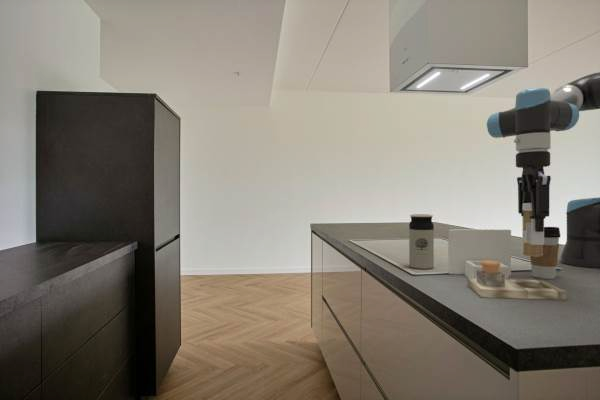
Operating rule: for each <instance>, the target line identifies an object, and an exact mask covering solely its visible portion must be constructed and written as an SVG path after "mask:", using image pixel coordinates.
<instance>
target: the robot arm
mask: <svg viewBox="0 0 600 400" xmlns="http://www.w3.org/2000/svg"><path fill="white" fill-rule="evenodd" d="M515 96H516V97H515V105H514V106H515V107H514V108H511V109H508V110H504V111H499V112H495V113H492V114H490V115H489V117H488V119H487V120H486V128H487V132H488V134H489V136H491V137H492V138H494V139H495V138H496V139H497V138H498V139H499V138H508V137H515V139H513V143H515V151H516V154H515V167H516V168H520V169H521V168H522V171H521V173H522V174H521V176H519V177H517V178H516V183H517V196H518V197H517V199H518V200H517V202H518V205H517V206H518V207H517V208H518V209H517V210H518V214H520V215H521V217H522V226H523V204H524V203H532V213H533V216H530V219H531V245H544V227H545V219H546V217H550V184H551V180H552V178H551V175H545V169H544V167H545V168H546V167H549V166H550V165H551V152H550V151H549V150H550V149H551V132H552V131H554V132H565V131H569V130H571V129H572V128H574V127H575V125H577V124H578V121H579V119H580V112H585V111H595V110H600V71H598V72H594V73H591V74H587V75H585V76H583V77H579V78H578V79H576V80H573V81H570V82H568V83H567V84H564V85H562V86H560V87H558V88H556V89H555V90H554V91H553V92H550V89H549V88H546V87H535V88H529V89H523V90H521V91H519V92H518V93H517V94H516V95H515ZM565 213H566V242H565V244H564V246H563V249H562V251H561V255H560V263H563V264H566V265H569V266H570V265H571V266H575V267H584V268H597V269H599V268H600V197H599V196H598V197H589V198H579V199H572V200H569V201H568V203H567V206H566V212H565Z"/></svg>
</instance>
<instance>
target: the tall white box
mask: <svg viewBox="0 0 600 400" xmlns="http://www.w3.org/2000/svg"><path fill="white" fill-rule="evenodd" d="M447 245H448V251H447V252H448V272H447V273H448V274H449V275H464V276H465V277H466V278H467V279H468V278H476V279H477V270H482V265H481V261H482V260H493V261H499V262H500V267H499V272H501V273H503V274H504V275H505V279H510V276H512V229H492V228H491V229H487V228H486V229H483V228H479V229H476V228H475V229H472V228H471V229H470V228H468V229H467V228H466V229H465V228H464V229H463V228H460V229H459V228H458V229H457V228H456V229H454V228H453V229H452V228H449V229H448V244H447Z"/></svg>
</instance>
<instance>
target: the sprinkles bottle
mask: <svg viewBox="0 0 600 400" xmlns="http://www.w3.org/2000/svg"><path fill="white" fill-rule="evenodd" d="M530 216H533V213H532V203H524V204H523V225H522V242H523V245H522V246H523V250H522V251H523V252H522V254H523V256H527V257H530V256H533V257H540V256H543V245H531V219H530Z"/></svg>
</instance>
